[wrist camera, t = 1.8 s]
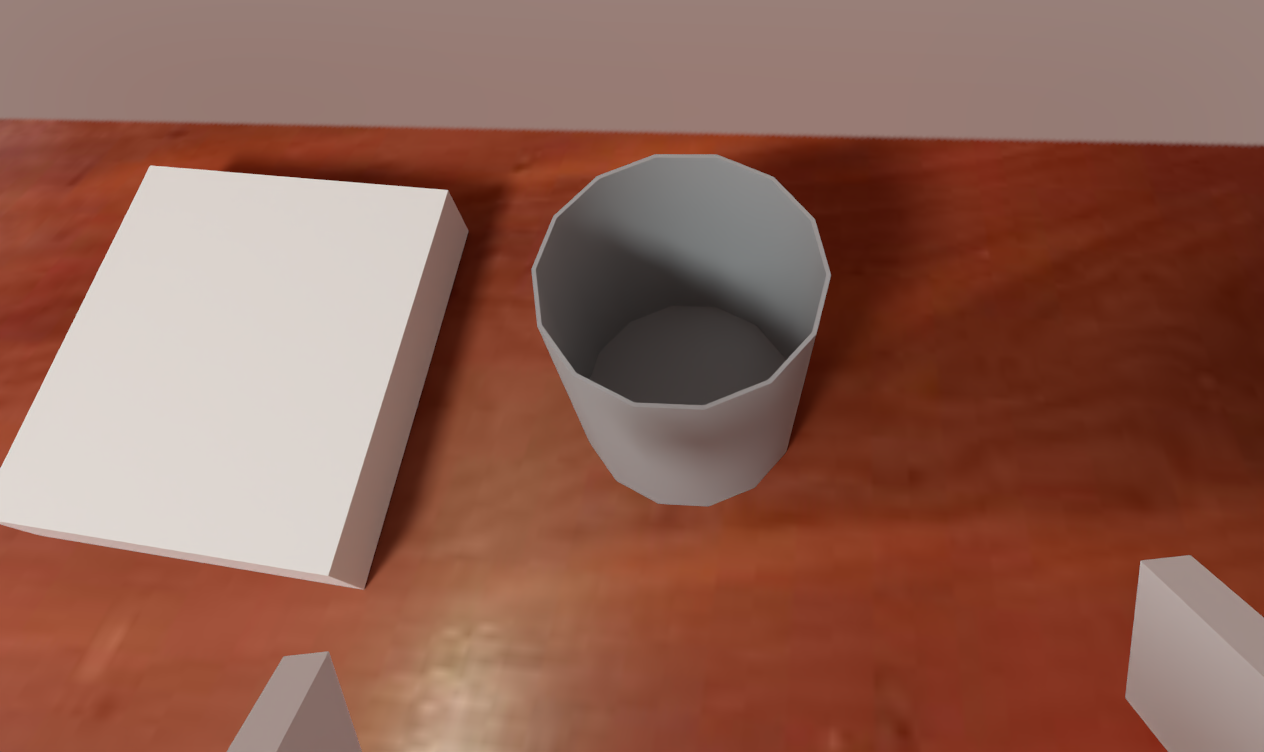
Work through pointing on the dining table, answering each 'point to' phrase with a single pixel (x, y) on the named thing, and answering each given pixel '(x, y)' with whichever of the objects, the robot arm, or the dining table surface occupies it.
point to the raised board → (242, 374)
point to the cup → (683, 321)
